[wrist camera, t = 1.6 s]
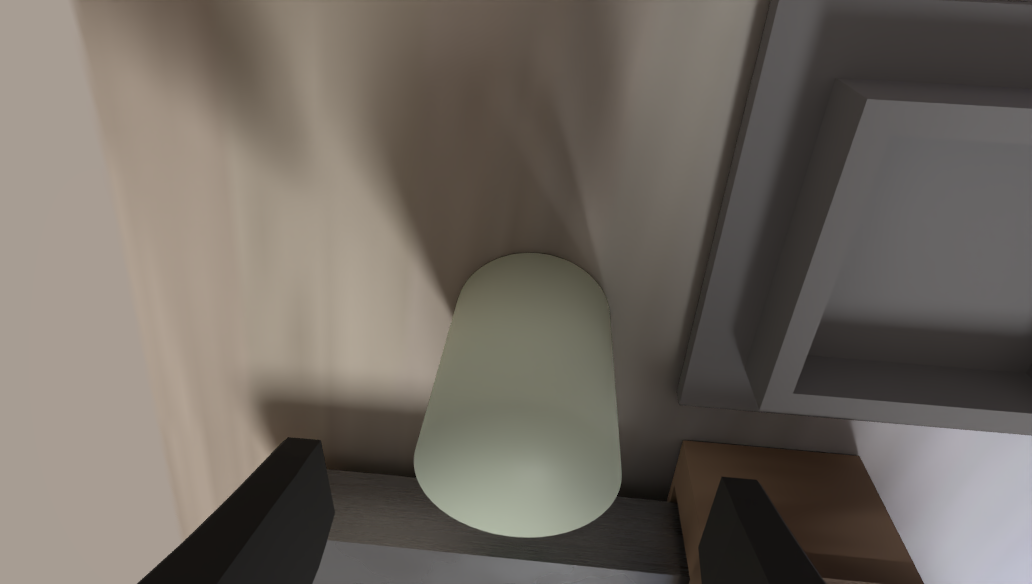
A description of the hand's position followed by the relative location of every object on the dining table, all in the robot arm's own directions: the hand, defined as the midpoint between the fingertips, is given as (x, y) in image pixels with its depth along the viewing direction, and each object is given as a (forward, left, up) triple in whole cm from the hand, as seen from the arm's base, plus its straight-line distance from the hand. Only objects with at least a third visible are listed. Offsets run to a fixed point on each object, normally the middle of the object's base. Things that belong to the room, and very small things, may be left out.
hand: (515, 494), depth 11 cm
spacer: (0, 0, -6) cm, 6 cm away
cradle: (-9, -3, -6) cm, 11 cm away
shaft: (0, +7, -6) cm, 9 cm away
